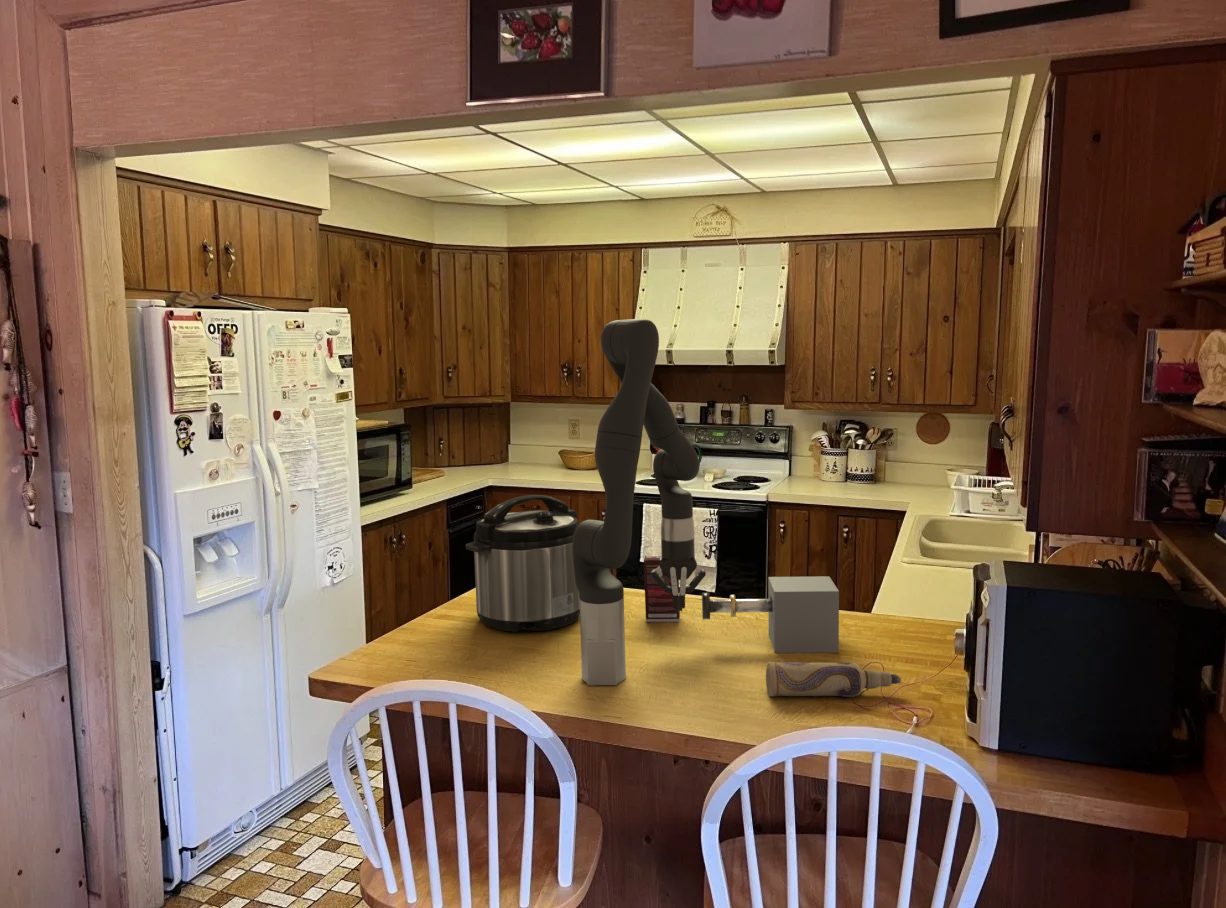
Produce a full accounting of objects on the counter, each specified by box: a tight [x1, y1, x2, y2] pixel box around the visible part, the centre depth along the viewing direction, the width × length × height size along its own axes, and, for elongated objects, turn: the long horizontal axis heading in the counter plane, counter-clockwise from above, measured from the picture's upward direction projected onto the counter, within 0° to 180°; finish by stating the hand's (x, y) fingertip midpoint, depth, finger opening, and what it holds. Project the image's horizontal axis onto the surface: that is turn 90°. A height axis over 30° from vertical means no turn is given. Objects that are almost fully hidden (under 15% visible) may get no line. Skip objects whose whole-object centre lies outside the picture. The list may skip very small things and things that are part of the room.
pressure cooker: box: [465, 494, 580, 632], centre depth 225 cm, size 30×28×32 cm
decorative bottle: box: [765, 661, 902, 698], centre depth 174 cm, size 26×8×7 cm, turn 87°
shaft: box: [701, 592, 772, 620], centre depth 203 cm, size 6×21×6 cm, turn 86°
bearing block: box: [767, 575, 840, 654], centre depth 202 cm, size 12×14×14 cm
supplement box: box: [643, 555, 681, 623], centre depth 222 cm, size 9×5×16 cm, turn 84°
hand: (679, 610), depth 204 cm, fingers closed
